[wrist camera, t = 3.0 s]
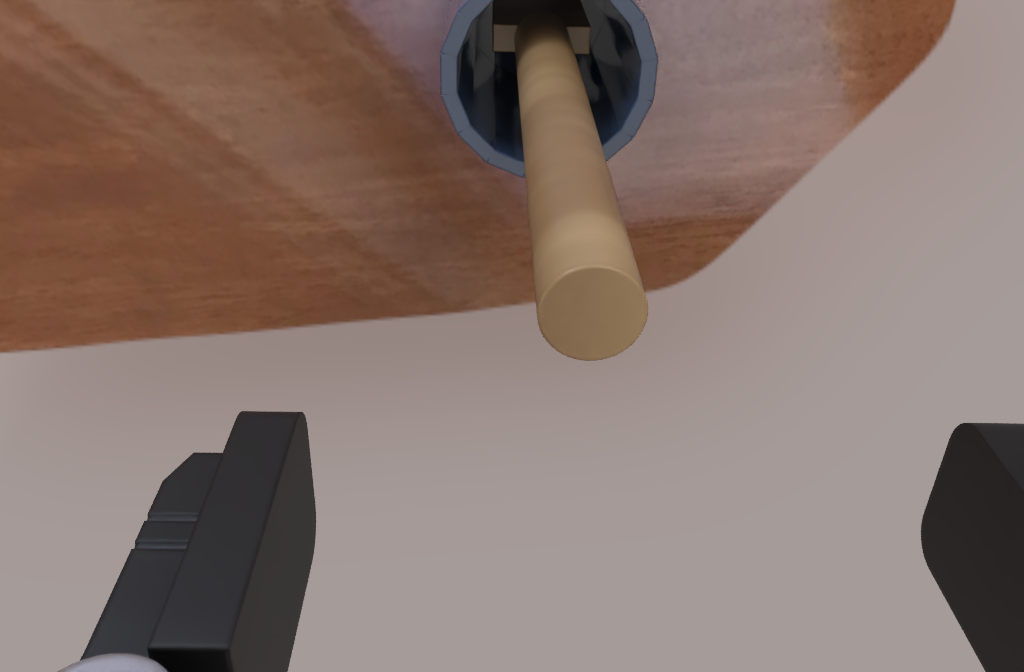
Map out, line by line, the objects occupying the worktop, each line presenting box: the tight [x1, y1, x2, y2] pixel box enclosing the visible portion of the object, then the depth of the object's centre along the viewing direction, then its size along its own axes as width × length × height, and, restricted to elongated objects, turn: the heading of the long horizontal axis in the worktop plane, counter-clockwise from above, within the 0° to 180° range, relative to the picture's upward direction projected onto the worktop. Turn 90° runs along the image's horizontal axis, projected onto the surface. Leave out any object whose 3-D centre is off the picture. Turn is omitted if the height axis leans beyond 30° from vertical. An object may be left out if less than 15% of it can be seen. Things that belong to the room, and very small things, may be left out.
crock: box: [440, 0, 658, 178], centre depth 31 cm, size 6×6×10 cm
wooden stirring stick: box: [492, 0, 648, 361], centre depth 25 cm, size 3×2×23 cm, turn 88°
